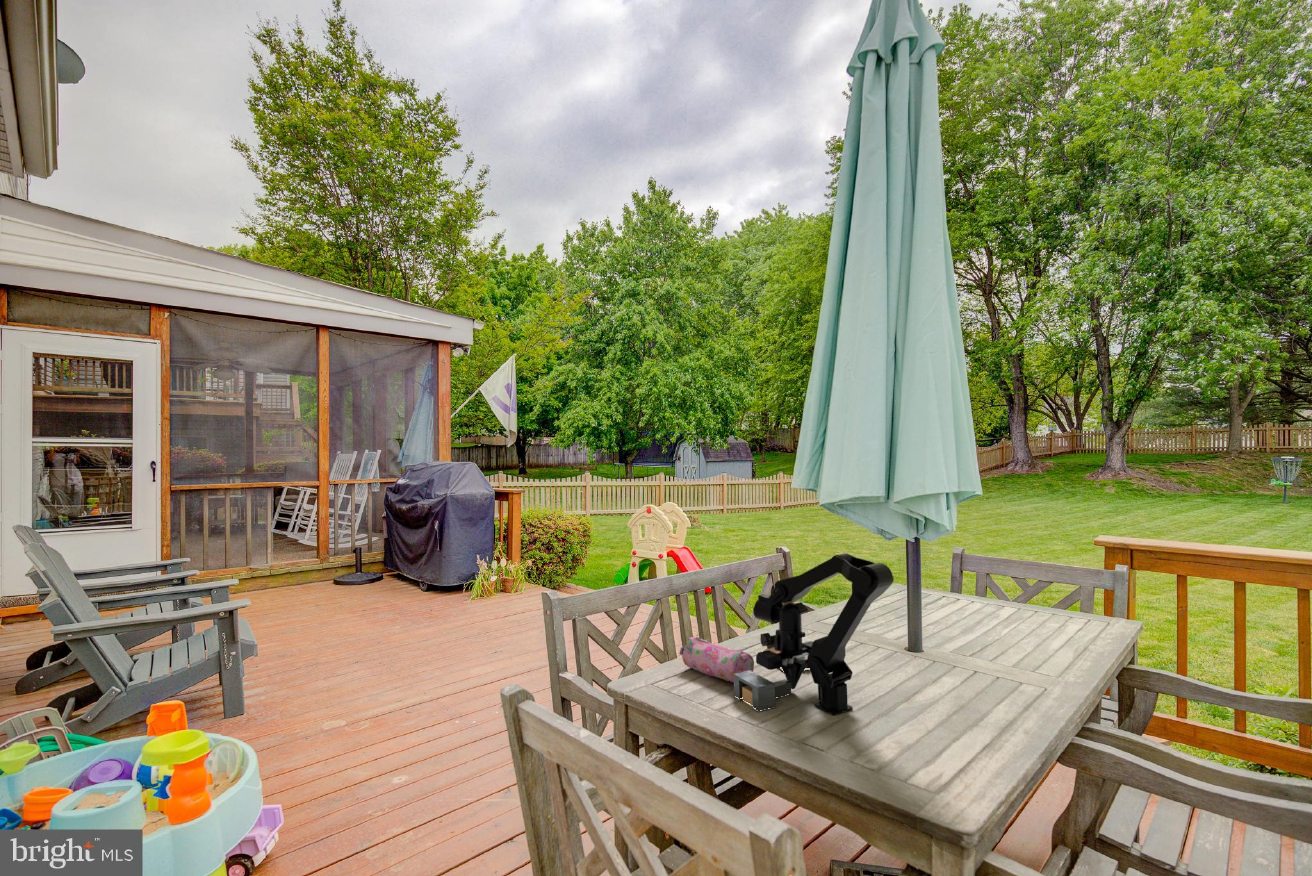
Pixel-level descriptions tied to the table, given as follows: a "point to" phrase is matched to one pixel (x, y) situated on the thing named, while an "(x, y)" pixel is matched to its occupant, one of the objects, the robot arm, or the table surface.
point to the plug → (780, 690)
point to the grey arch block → (755, 689)
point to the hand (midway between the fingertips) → (792, 688)
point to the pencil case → (715, 659)
